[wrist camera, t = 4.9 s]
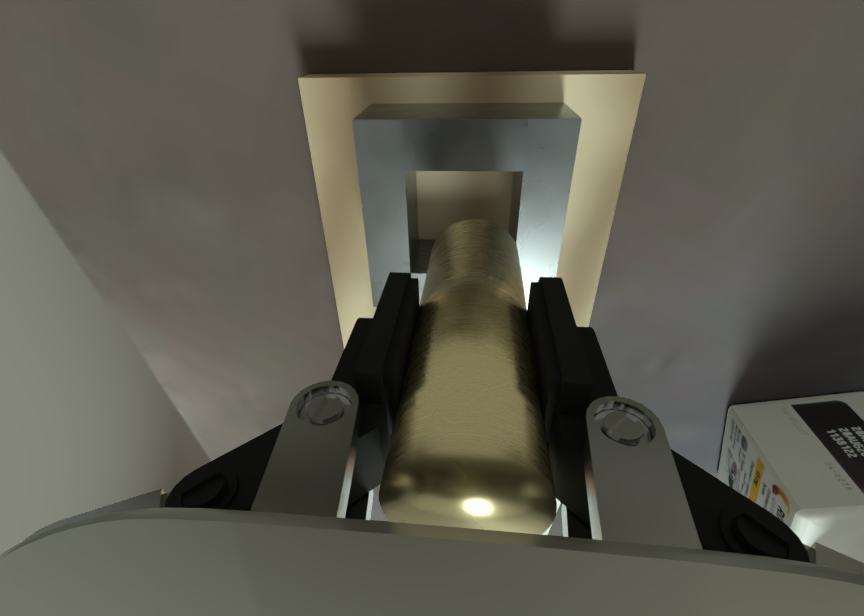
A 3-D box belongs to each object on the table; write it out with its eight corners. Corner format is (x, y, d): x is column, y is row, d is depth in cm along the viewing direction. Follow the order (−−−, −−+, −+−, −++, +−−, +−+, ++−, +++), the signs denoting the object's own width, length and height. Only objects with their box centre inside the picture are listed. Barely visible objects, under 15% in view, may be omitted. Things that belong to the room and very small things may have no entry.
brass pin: (522, 219, 14) (570, 457, 6) (514, 298, 15) (544, 558, 8) (429, 218, 14) (370, 443, 7) (431, 295, 16) (385, 544, 8)
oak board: (634, 69, 18) (646, 73, 17) (558, 425, 30) (561, 442, 29) (309, 74, 19) (297, 77, 18) (362, 415, 31) (358, 431, 30)
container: (726, 402, 28) (884, 643, 17) (865, 387, 26) (1136, 642, 16) (715, 475, 32) (837, 706, 21) (835, 466, 30) (1033, 711, 20)
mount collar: (564, 102, 18) (581, 118, 15) (540, 273, 22) (550, 311, 19) (371, 103, 18) (351, 119, 15) (386, 269, 23) (373, 306, 20)
